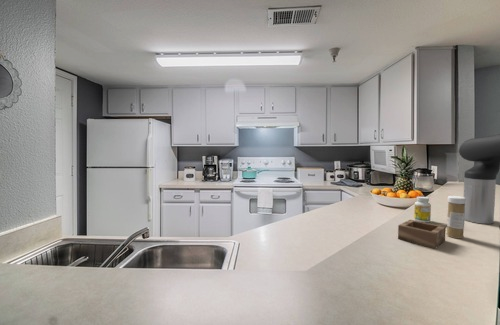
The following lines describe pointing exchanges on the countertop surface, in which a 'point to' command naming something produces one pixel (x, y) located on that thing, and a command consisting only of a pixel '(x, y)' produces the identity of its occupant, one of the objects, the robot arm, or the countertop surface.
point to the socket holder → (422, 233)
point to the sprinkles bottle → (456, 216)
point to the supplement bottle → (422, 210)
